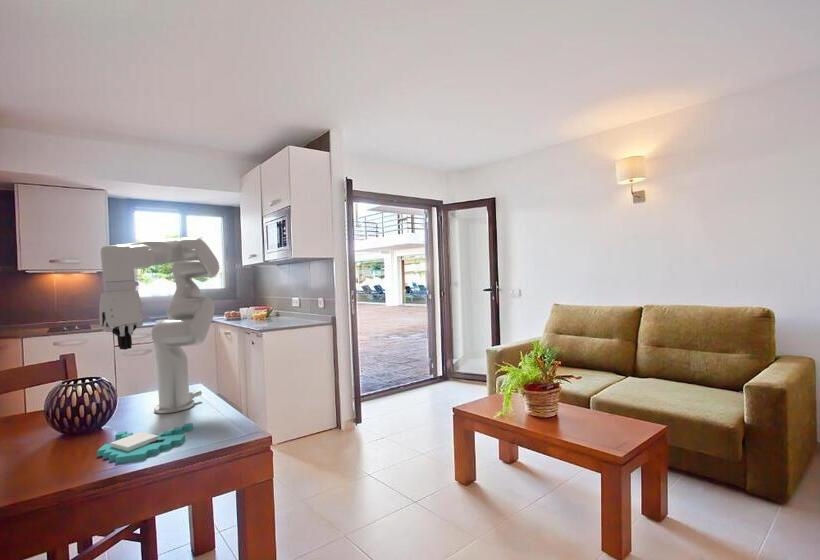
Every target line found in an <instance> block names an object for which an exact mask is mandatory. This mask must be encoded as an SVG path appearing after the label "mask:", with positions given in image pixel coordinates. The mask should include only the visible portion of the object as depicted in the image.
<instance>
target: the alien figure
mask: <svg viewBox="0 0 820 560" xmlns="http://www.w3.org/2000/svg"><path fill="white" fill-rule="evenodd" d="M193 429H194V423H193V422H190V423H184V425H183V426H178V427H177V426H175V427H174V428H173V429H171V430H164V431H163V432H162V433H160V434H156V435H157V436H158V440H156V441H154V442H151V443H148V444H146V445H143V446H141V447H138V448H136V449H133V450H131V451H124V450H121V449H117V448H113V447H111V442H110V443H105V444H104V445H102V446H101V447H99V449H97V451H96V452H97V453H96V455H97V458H98V457H102V458H103V459H104V460H106V459H108V460H109V462H114V461H115V464H116V465H117V464H123V463H130V462H137V461H142V460H143V461H144V460H146V459H147V458H148V457H149V456H155V455H159V454H160V453H161V452H163V451H170V450H171V449H172V447H176V446H177V447H179V446H182V445H183V444H184V442H185V440H186V433H184V432H191V431H192V430H193ZM131 435H133V432H129V433H128V430H126V431H118V432H117V433H116V434H115V439H114V441H117V440H119V439H122V438H125V437H128V436H131Z"/></svg>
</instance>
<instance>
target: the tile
mask: <svg viewBox="0 0 820 560" xmlns="http://www.w3.org/2000/svg"><path fill="white" fill-rule="evenodd" d="M157 435H158V434H153V433H148V432H145V431H144V432H143V431H139V432H136V433H134V434H133V435H131V436H128V437H125V438H122V439H119V440H114V441H112V442H111V441H110V443H111V447H113V448H117V449H121V450H124V451H131V450H133V449H136V448H138V447H141V446H143V445H146V444H148V443H151V442H154V441H156V440H158V436H157Z"/></svg>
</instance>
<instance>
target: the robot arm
mask: <svg viewBox="0 0 820 560" xmlns="http://www.w3.org/2000/svg"><path fill="white" fill-rule="evenodd" d="M100 259H101V269H102V271H101V272H102V281H103V291H104V292H103V293H101V294H100V299H99V310H98V311H99V316H98V317H99V325H100V326H101V327H102V331H103V332H104V333H111V334H112V335H113V334H114V335H115V336H116V337H117V347H118V348H119V350H125V351H126V350H128V349H129V350H130V349H132V345H133V340H132V335H133V334H134V331H136V328H137V329H138V328H140V327H142V326H143V325H144V323H143V320H144V312H143V310H144V309H143V304H142V301H141V297H140V296H141V295H140V294H139V292H138V291H139V290H136V287H139V286H140V283H139V282H138V281H136V280H135V270H142V269H148V268H151V267H152V266H161V265H166V264H171V263H172V266H171V268H172V269H171V271H172V274H173V279H174V282H175V286H176V287H175V292H174V294H173V296H172V298H171V299H170V300H171V301H170V302H169V304H168V307H167V310H166V317H167V318H168V319H165V320H161V321H158V322H156V323H155V325H153V327H152V329H151V340H152V343H153V346H154V350H155V351H154V352H155V357H156V369H157V370H156V371H157V372H156V373H157V374H156V375H157V390H158V405H156V406H154V408H153V410H154V411H153V412H155V413H156V414H172V413H177V412H182V411H186V410H188V409H190V408H192V407H193V406H195V400H194V398H197V397H200V396H202V394H203V392H202V391H201V390H196V391H190V384H189V383H190V380H189V370H188V369H189V368H188V367H189V366H188V355H187V354H186V351H184V349H183V348H182V347H189V346H190V347H191V346H200V345H201V344H203V343H204V342H205V340H206V338H207V336H208V332H209V330H210V327H211V324H212V322H213V319H214V315H215V304H214V301H213V300H212V299H211V298H210V297H208V296H201V289H200V287H199V286H198V285H197V284H196V283H195V282H194V280H193V279H197V278H213V277H215V276H217V274H218V273H219V272H220V262H219V261H218V259H217V257H216V255H215V254H214V253H213V251H212V250H211V248H210V247H209V245H208V244H207V243H206V242H205V241H204V240H203V239H201V238H200V237H180V238H179V237H177V238H167V239H157V240H149V241H143V242H134V243H122V244H113V245H103V246H102V247H101V249H100Z"/></svg>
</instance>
